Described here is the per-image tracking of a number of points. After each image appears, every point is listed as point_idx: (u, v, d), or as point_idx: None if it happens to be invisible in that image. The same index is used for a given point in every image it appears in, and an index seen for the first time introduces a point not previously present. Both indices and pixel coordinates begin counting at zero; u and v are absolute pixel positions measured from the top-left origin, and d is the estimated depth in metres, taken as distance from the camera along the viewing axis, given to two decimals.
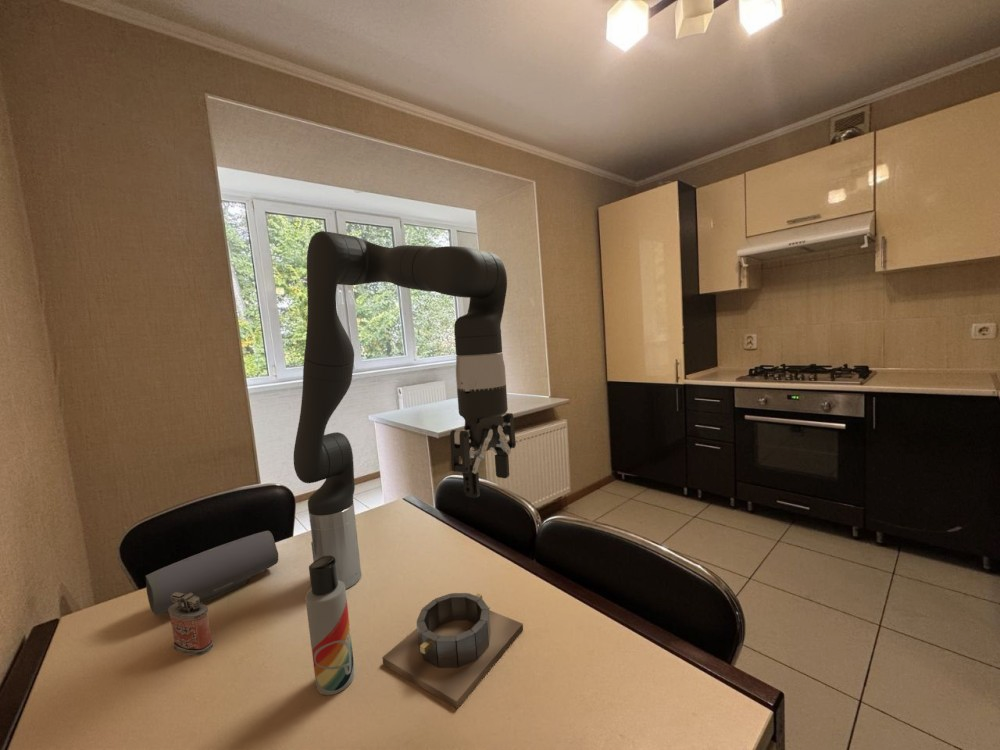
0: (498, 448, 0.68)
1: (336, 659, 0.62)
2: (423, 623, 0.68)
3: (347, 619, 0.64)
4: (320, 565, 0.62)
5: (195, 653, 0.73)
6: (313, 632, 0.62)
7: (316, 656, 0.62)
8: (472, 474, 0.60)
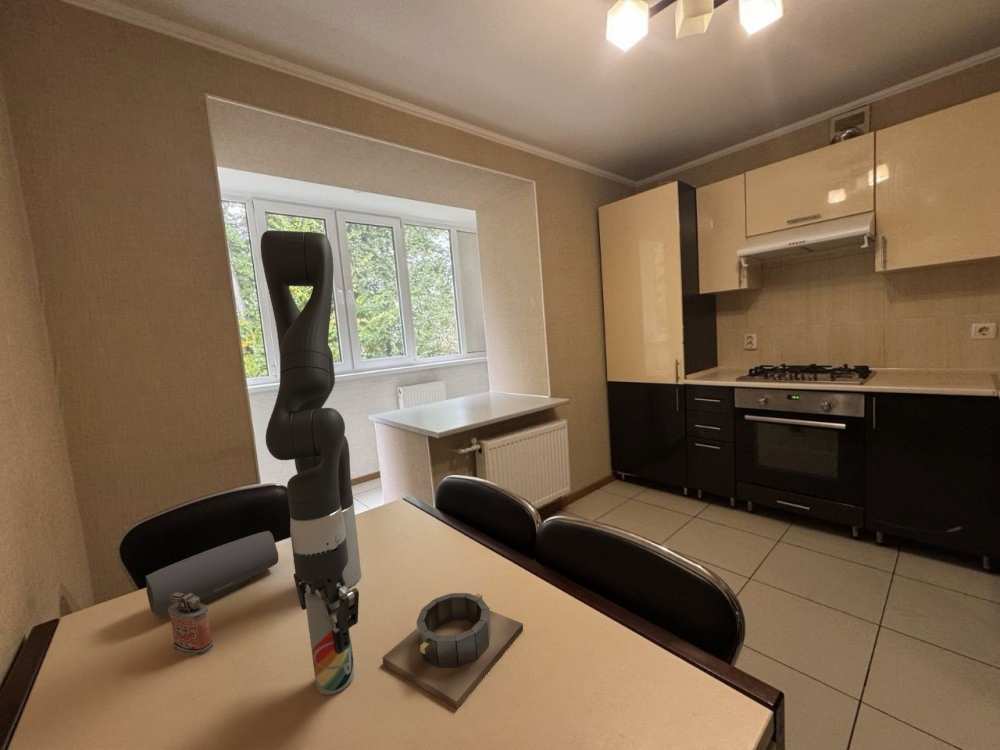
0: None
1: (336, 659, 0.62)
2: (423, 623, 0.68)
3: None
4: None
5: (195, 653, 0.73)
6: (313, 632, 0.62)
7: (316, 656, 0.62)
8: None
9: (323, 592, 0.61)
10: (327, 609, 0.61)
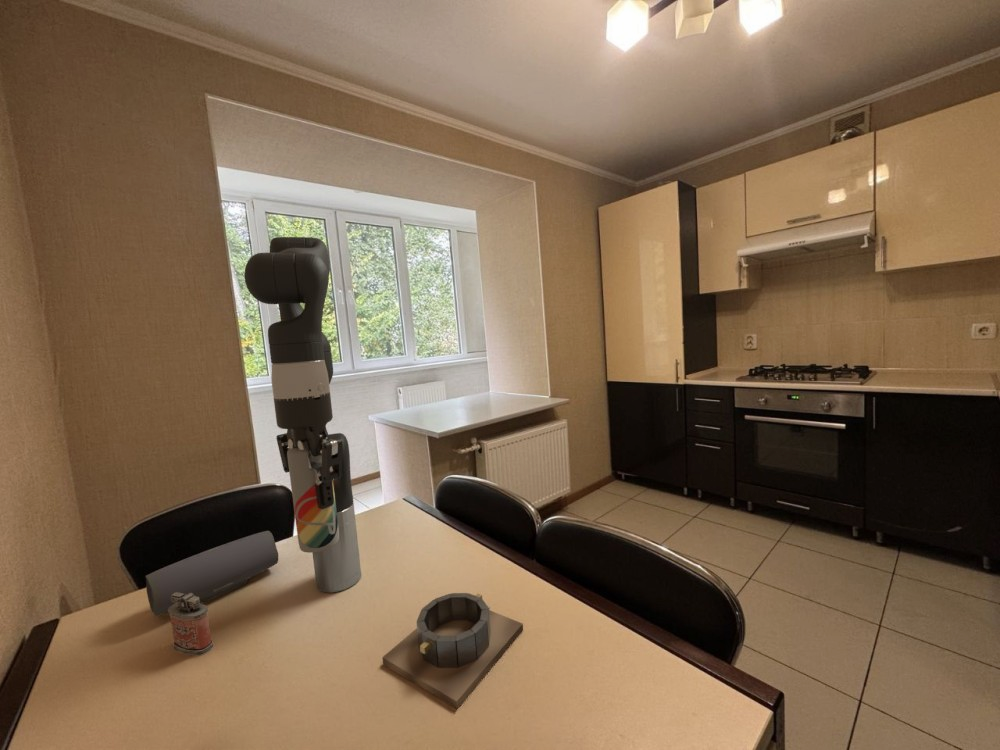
0: None
1: (319, 515, 0.60)
2: (423, 623, 0.68)
3: None
4: None
5: (195, 653, 0.73)
6: (295, 486, 0.59)
7: (298, 511, 0.60)
8: None
9: (306, 444, 0.59)
10: (309, 460, 0.59)
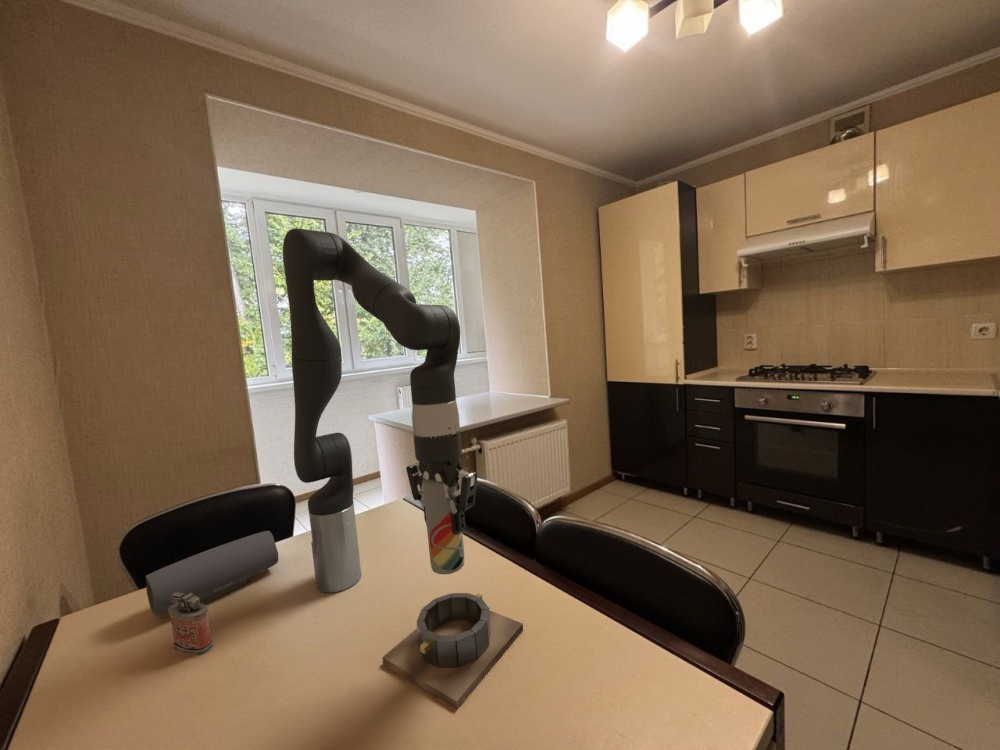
0: None
1: (453, 540, 0.66)
2: (423, 623, 0.68)
3: None
4: None
5: (195, 653, 0.73)
6: (432, 514, 0.66)
7: (434, 537, 0.66)
8: None
9: (443, 476, 0.65)
10: (447, 491, 0.65)
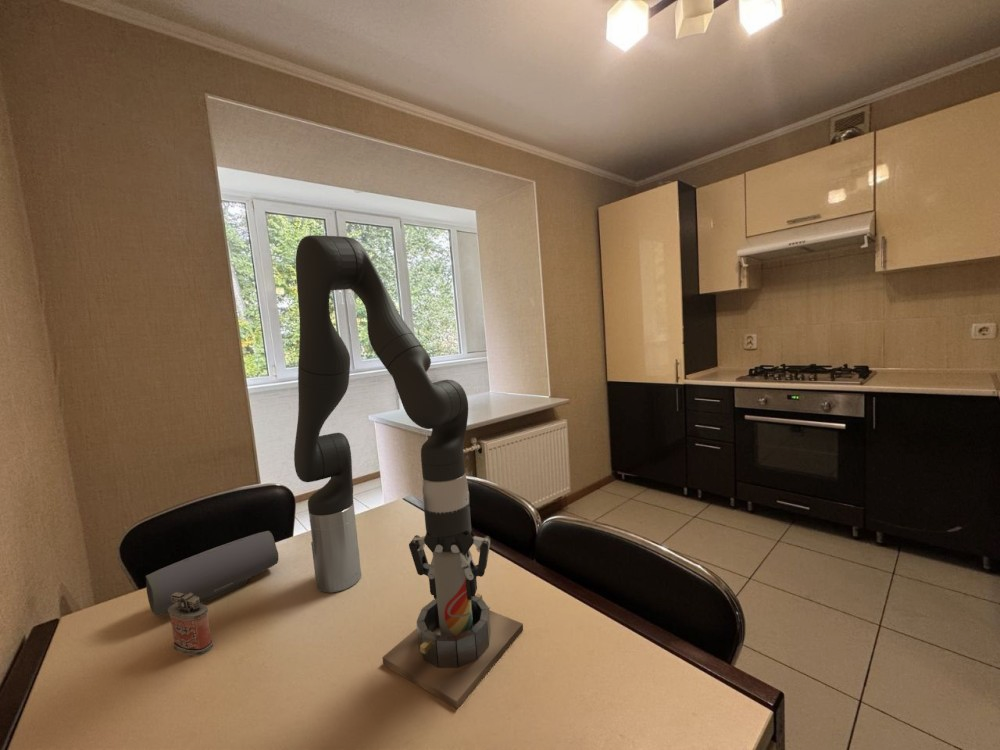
0: (433, 570, 0.70)
1: (468, 606, 0.69)
2: (423, 623, 0.68)
3: None
4: None
5: (195, 653, 0.73)
6: (449, 586, 0.67)
7: (451, 608, 0.67)
8: None
9: (458, 546, 0.68)
10: (464, 560, 0.68)
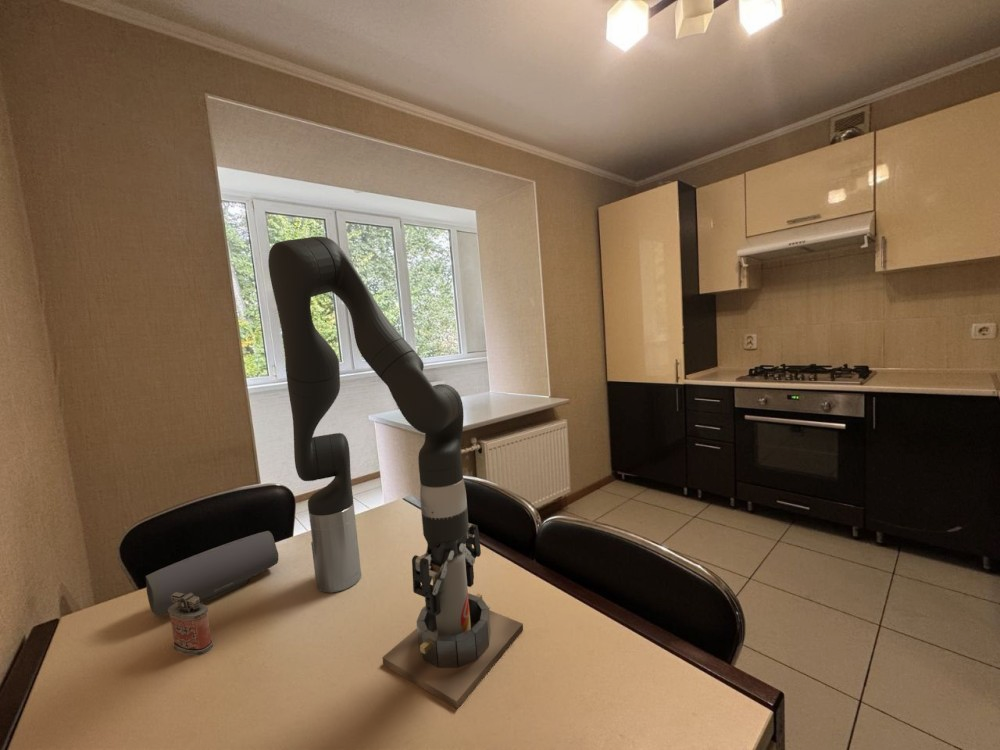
0: None
1: None
2: (423, 623, 0.68)
3: None
4: None
5: (195, 653, 0.73)
6: (464, 587, 0.68)
7: (466, 609, 0.68)
8: None
9: None
10: (468, 550, 0.71)
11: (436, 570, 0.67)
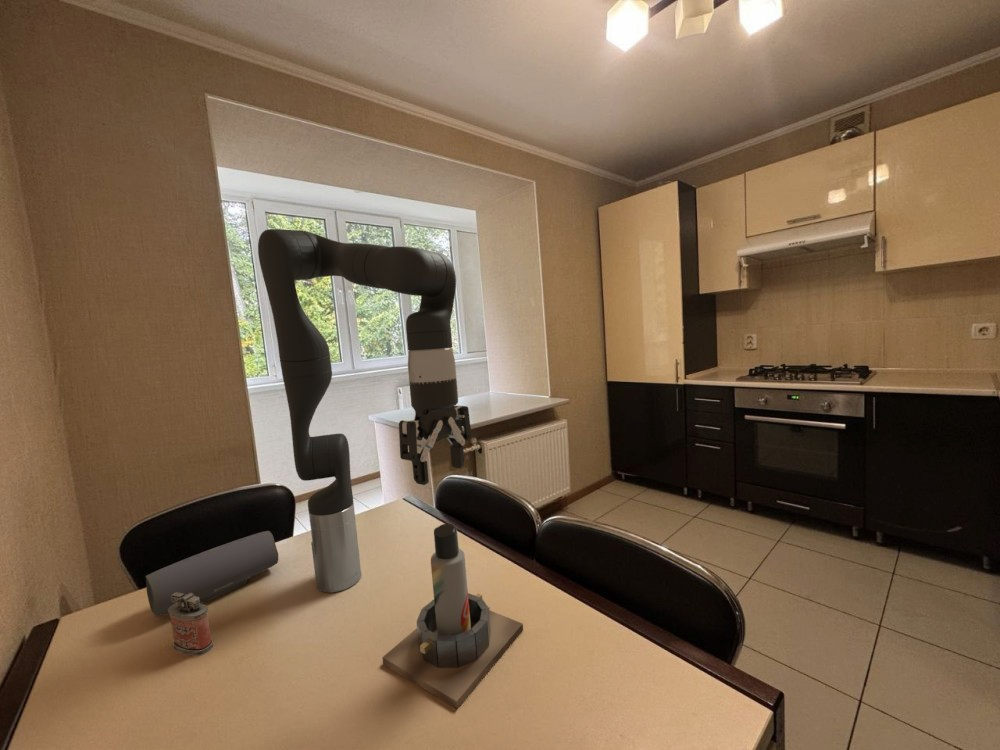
0: None
1: None
2: (423, 623, 0.68)
3: None
4: (452, 527, 0.69)
5: (195, 653, 0.73)
6: (464, 587, 0.68)
7: (466, 609, 0.68)
8: None
9: None
10: (458, 428, 0.69)
11: (436, 570, 0.67)
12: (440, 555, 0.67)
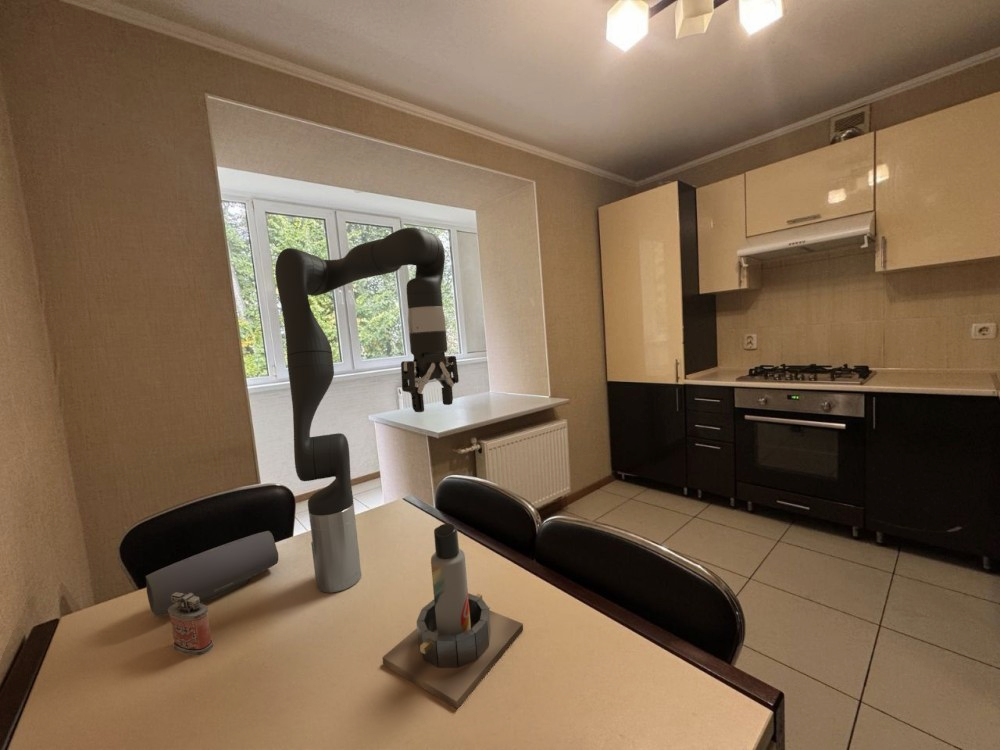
0: None
1: None
2: (423, 623, 0.68)
3: None
4: (452, 527, 0.69)
5: (195, 653, 0.73)
6: (464, 587, 0.68)
7: (466, 609, 0.68)
8: None
9: None
10: (447, 371, 0.87)
11: (436, 570, 0.67)
12: (440, 555, 0.67)
